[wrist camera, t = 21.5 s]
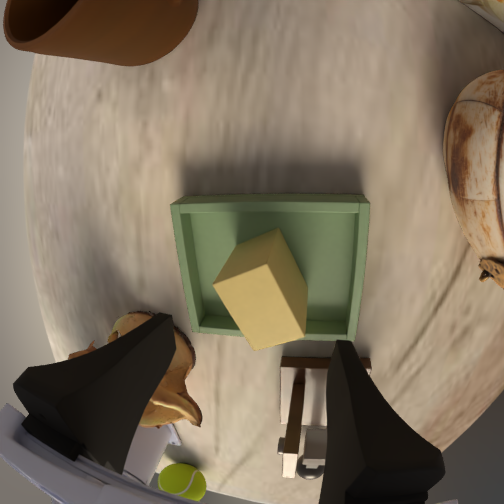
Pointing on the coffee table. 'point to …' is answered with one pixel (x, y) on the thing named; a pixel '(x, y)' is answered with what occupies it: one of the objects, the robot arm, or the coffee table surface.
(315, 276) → the butter dish
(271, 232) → the block
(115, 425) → the robot arm
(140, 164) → the coffee table surface
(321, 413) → the brown lever mount bracket
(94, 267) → the coffee table surface
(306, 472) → the lever
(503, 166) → the trinket box
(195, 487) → the tennis ball
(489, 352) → the coffee table surface
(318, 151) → the coffee table surface
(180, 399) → the bone
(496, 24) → the coffee box
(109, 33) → the mug
